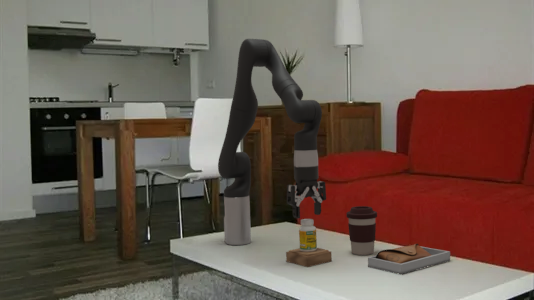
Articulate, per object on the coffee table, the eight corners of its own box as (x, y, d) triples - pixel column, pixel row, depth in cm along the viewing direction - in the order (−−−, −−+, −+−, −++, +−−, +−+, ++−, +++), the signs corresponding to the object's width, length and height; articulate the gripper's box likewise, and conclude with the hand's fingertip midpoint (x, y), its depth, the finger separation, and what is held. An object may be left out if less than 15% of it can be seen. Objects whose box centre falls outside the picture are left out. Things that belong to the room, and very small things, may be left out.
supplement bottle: (309, 247, 191) (308, 217, 190) (320, 250, 186) (319, 219, 186) (296, 250, 188) (295, 219, 187) (306, 253, 183) (305, 221, 183)
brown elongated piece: (396, 267, 172) (387, 245, 174) (381, 275, 177) (372, 254, 179) (438, 257, 182) (429, 237, 184) (423, 265, 187) (414, 245, 189)
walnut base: (286, 261, 188) (286, 250, 188) (310, 256, 194) (309, 245, 194) (307, 267, 180) (307, 255, 180) (331, 261, 186) (331, 250, 186)
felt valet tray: (368, 266, 178) (367, 257, 178) (416, 254, 192) (416, 245, 191) (401, 274, 168) (401, 264, 168) (450, 260, 182) (450, 251, 181)
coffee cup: (341, 253, 196) (340, 208, 195) (358, 248, 203) (357, 204, 202) (367, 257, 189) (365, 210, 188) (384, 252, 196) (382, 206, 196)
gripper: (315, 162, 193) (316, 212, 194) (280, 165, 184) (281, 217, 185) (331, 163, 187) (332, 215, 188) (296, 167, 178) (297, 221, 179)
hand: (307, 216), depth 187 cm, fingers open, 8 cm apart
